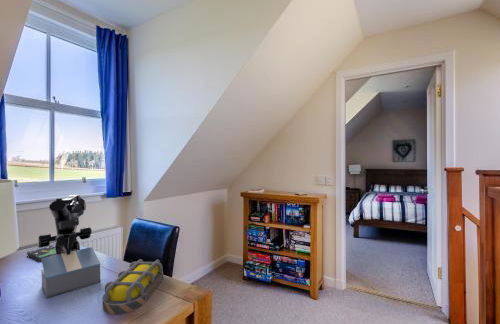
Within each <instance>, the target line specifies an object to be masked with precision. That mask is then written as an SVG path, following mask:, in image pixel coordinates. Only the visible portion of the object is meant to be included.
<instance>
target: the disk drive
mask: <svg viewBox="0 0 500 324" xmlns="http://www.w3.org/2000/svg"><path fill="white" fill-rule="evenodd" d="M27 255H28V256H29V257H28V256H27ZM53 255H58V254H56V248H54V247H52V246H46V247H41V248H37V249H36V250H30V251H27V252H26V256H27V257H28V258H30V257H31V258H30V259H32V258H33V259H32V260H34V259H35V261H37V262H39V263H42V260H41V258H44V257H49V256H53Z"/></svg>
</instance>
